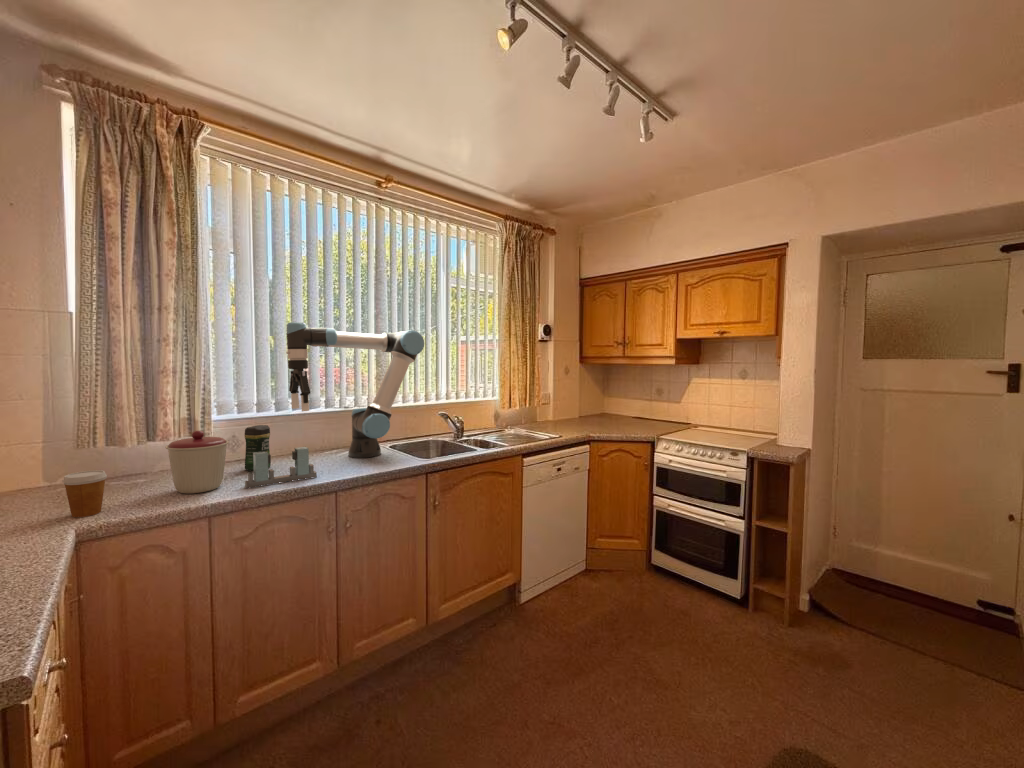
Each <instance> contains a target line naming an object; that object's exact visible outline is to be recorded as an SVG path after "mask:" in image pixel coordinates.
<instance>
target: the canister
mask: <svg viewBox="0 0 1024 768" xmlns="http://www.w3.org/2000/svg"><path fill="white" fill-rule="evenodd" d="M229 443H230V441H229V440H227V439H225V438H223V437H220V436H219V437H218V436H205V432H204V431H203V430H195V431H193V432H192V433H191V437H188V438H182V439H176V440H174V441H172V442H170V443H169V444H168V445H165V449H166V450H167V452H168V458H169V464H170V470H171V476H172V481H173V485H174V488H175V490H176V491H177V492H178V493H181V494H201V493H206V492H211V491H214V490H216V489H218V488H219V487H220V486H221V485H222V483H223V479H224V473H225V465H226V454H227V445H228V444H229Z"/></svg>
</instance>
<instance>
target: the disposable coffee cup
mask: <svg viewBox="0 0 1024 768" xmlns="http://www.w3.org/2000/svg"><path fill="white" fill-rule="evenodd" d="M107 477H108V474H107V473H106V471H105V470H103V469H102V470H101V469H100V470H99V469H97V470H96V469H94V470H86V471H85V470H84V471H79V472H72V473H69V474H66V475H64V476H63V479H62V480H61V481H62V484H63V485H64V487H65V491H66V498H67V501H68V505H69V506H68V507H69V511H70V513H71V517H72V518H85V517H90V516H91V517H92V516H94V515H97V514H99V513H102V507H103V500H104V499H103V498H104V492H105V483H106V480H107Z"/></svg>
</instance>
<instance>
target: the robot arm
mask: <svg viewBox="0 0 1024 768" xmlns="http://www.w3.org/2000/svg"><path fill="white" fill-rule="evenodd" d="M286 345H287V346H286V349H287V351H286V352H285V353H286V354H287V359H288V360H287V368H288V369H289V370H290V379H289V380H290V381H289V390H288V391H289V393H290V395H291V399H290V401H291V410H294V409H300V408H301V412H309V411H310V399H309V398H310V397H309V395H311V388H310V384H309V379H308V372H307V371H306V369H308V368H309V360H308V358H309V354H308V353H309V352H308V351H309V350H308V346H311V347H321V348H323V347H324V348H328V347H329V348H342V349H343V348H344V349H359V350H360V349H361V350H377V351H378V350H379V351H381V352H382V353H391V355H392V357H391V361H390V362H389V365H388V367H387V369H386V372H385V373H384V375H383V378H382V381H381V383H380V386H379V387H378V390H377V392H376V395H375V396H374V399H373V401H372V403H370V404H368V405H367V406H366V407H362V408H354V409H352V411H351V442H350V444H349V445H350V446H349V448H348V455H347V456H348V457H350V458H358V459H364V458H365V459H366V458H372V457H373V458H374V457H378V456H380V455H381V454H382V449H381V446H380V444H379V440H378V439H380V438H383V437H384V436H386V435H387V434H388V432H389V431H390V428H391V422H390V420H391V417H392V415H393V414H392V410H391V409H392V406H393V405H394V401H395V400H396V397H397V395H398V392H399V391H400V388H401V385H402V383H403V381H404V378H405V375H407V371H408V369H409V367H410V365H411V364H412V363H414V362H415V360H416V358H417V356H418V355H419V354H420V353H422V351H423V350H424V347H425V340H424V337H423V335H422V333H420V332H419V331H417V330H413V329H407V330H405V331H403V330H402V331H397V332H382V334H378V333H366V332H364V333H363V332H353V331H351V332H349V331H338V330H336V329H335V328H333V327H308V326H307V324H306V323H305V322H299V321H297V322H296V321H295V322H293V321H292V322H291V321H290V322H288V323H287V324H286ZM286 354H285V355H286ZM299 389H300V391H299ZM299 393H300V394H299ZM299 396H300V399H299ZM300 401H301V402H300ZM299 402H300V403H301V404H300V403H299ZM299 404H300V405H301V406H300V405H299Z"/></svg>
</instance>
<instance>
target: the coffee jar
mask: <svg viewBox="0 0 1024 768" xmlns="http://www.w3.org/2000/svg"><path fill="white" fill-rule="evenodd" d="M243 435H244V440H245V456H244V457H245V458H244V470H245V471H248V472H254V464H253V453H254V452H263V451H266V452H267V453H268V454H270V455H271V452H270V436H271V428H270V426H269V425H267V424H265V425H264V424H259V425H258V424H257V425H253V426H248V427H246V428H245V429H244V434H243ZM271 466H272V465H271V463H268V469H269V468H270V467H271Z"/></svg>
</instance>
